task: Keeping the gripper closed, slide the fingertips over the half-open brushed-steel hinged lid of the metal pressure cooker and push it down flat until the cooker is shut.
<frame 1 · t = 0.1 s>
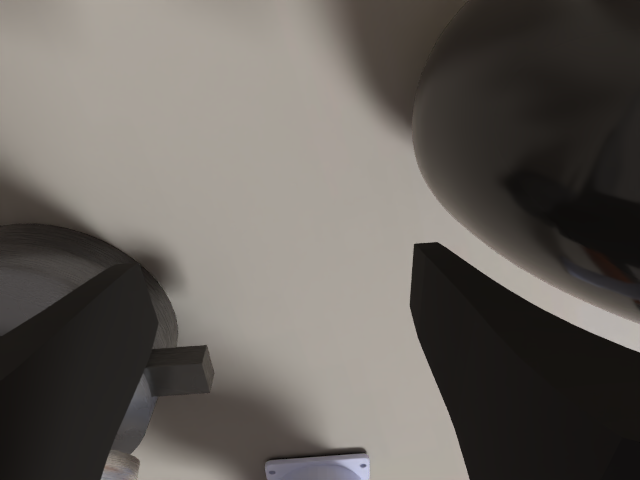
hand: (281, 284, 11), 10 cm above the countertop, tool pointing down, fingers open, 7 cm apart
cooker pot: (63, 322, 24), on the countertop
black white egg shape: (502, 89, 19), on the countertop
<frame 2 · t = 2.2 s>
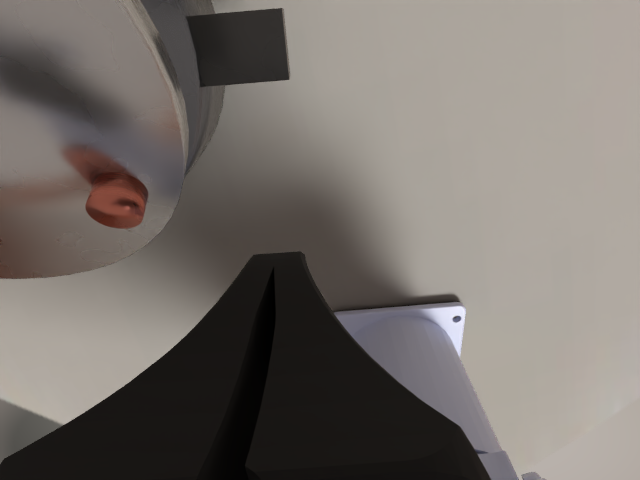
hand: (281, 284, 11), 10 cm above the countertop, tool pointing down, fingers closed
cooker pot: (68, 56, 17), on the countertop
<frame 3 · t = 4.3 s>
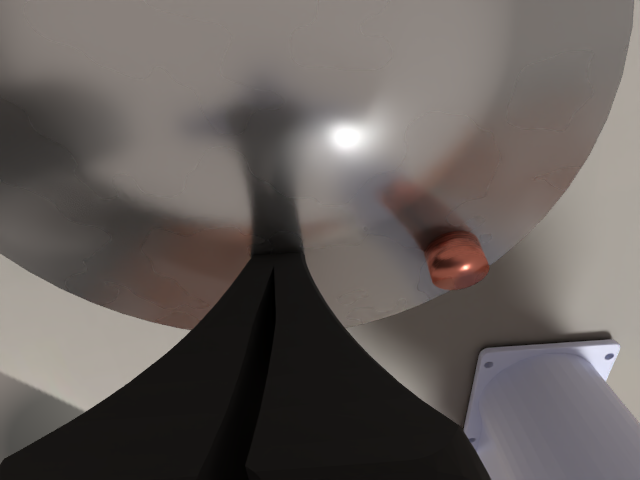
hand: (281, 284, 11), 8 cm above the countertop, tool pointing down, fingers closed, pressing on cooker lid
cooker lid: (257, 134, 8), point 9 cm above the countertop, hinge at 18.5°, touching gripper
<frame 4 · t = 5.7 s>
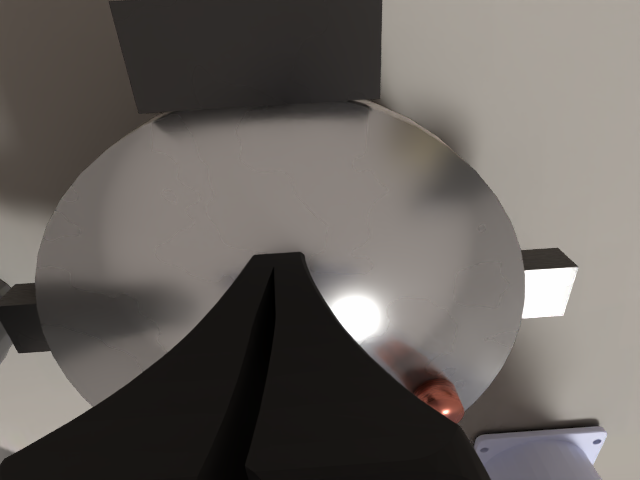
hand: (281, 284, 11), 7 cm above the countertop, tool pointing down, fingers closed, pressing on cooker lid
cooker pot: (292, 237, 18), on the countertop
cooker lid: (285, 312, 11), point 6 cm above the countertop, hinge at 0.2°, touching gripper
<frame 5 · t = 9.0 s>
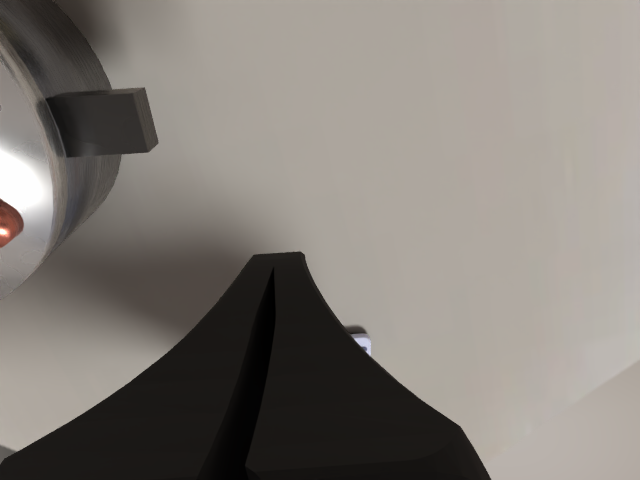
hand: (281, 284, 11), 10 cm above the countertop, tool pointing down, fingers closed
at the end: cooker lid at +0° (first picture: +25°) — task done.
